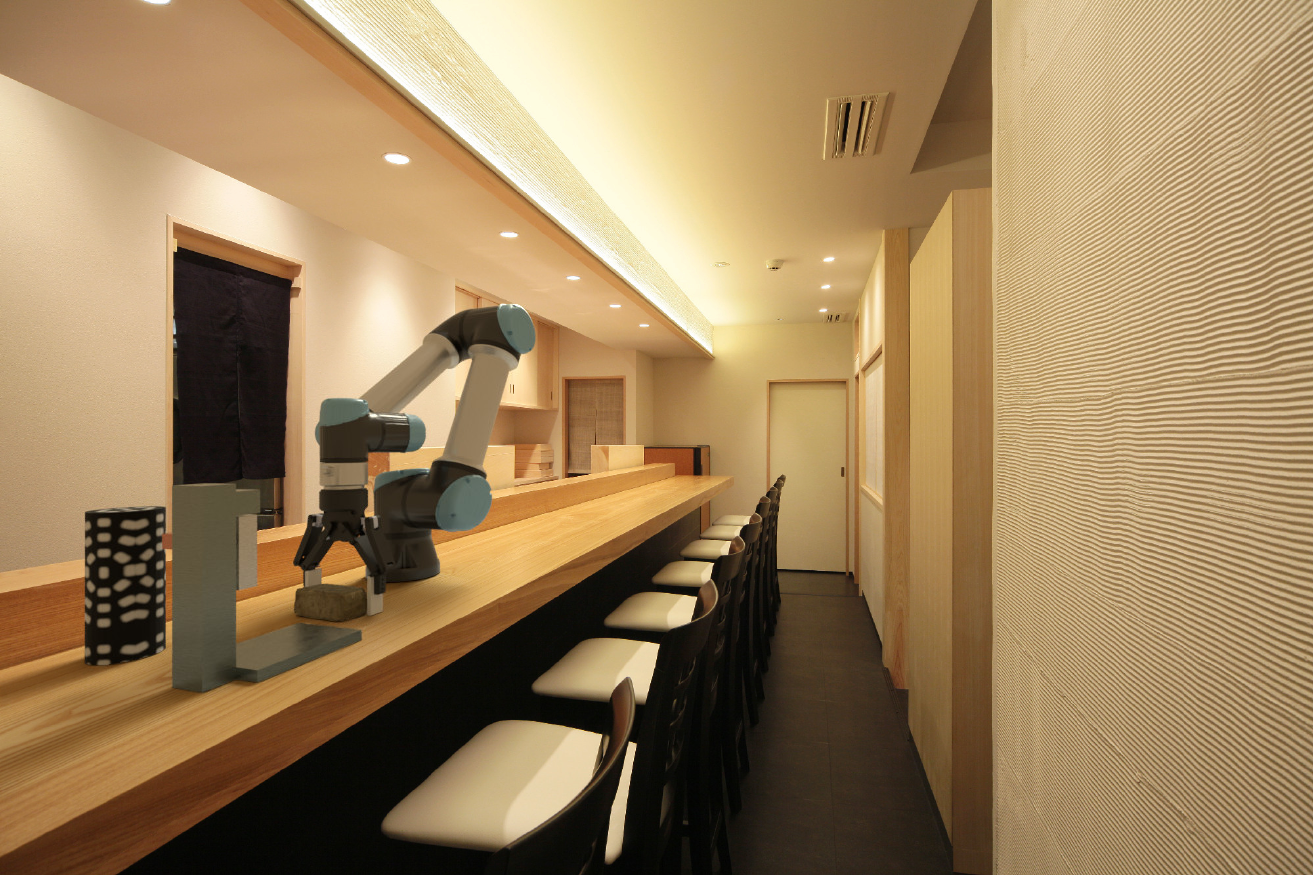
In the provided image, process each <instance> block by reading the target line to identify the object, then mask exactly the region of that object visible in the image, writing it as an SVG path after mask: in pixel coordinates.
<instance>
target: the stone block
mask: <svg viewBox="0 0 1313 875" xmlns="http://www.w3.org/2000/svg"><path fill="white" fill-rule="evenodd" d="M294 598H295V599H294V605H293V612H294V614H295V615H297V616H299V617H304V618H306V619H315V620H322V621H329V622H331V621H332V622H343V621H344V622H345V621H348V620H352V619H355V618H359V617H361V616H363V615H367V590H365V589H364V588H363V587H360V586H359V587H358V586H354V585H353V586H352V585H343V584H336V583H335V584H333V583H322V584H318V585H314V586H309V587H304V586H303V587H300V588H297V589H296V590H295V595H294Z"/></svg>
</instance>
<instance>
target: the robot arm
mask: <svg viewBox="0 0 1313 875" xmlns="http://www.w3.org/2000/svg"><path fill="white" fill-rule="evenodd" d="M536 337H537V336H536V329H535V325H534V322H533V320H532V318H531V316H530V314H529V313H528V312H527V311H526V309H525V308H523V307H522V306H521V305H519V304H515V303H509V304H508V303H507V304H506V303H500V304H499V305H495V306H485V307H477V308H467V309H464V310H462V311H459V312H457V313H455V314H453V315H451V316H450V317H449V318H447V319H446V320H444V321H442V322H441V323H440V324H439V325H437V326H436V327H434V329H432V330H430V332H429V333H428V334H426V335H425V336H424V338H423V339H422V345H420V346H419V347H418V348H417V349H416V350H414V351H413V352H412V353H411V354H410V355H409V356H407V357H406V358H405V359H404V360H402V361H401V362H400V363H399V364H398V365H397V366H396V367H394V368H393V369H392V370H391V371H389V373H387V374H386V375H385V376H384V377H382V378H381V379H379V381H378V382H376V383H375V384H374V385H373V386H372V387H371V388H369V389H368V390H367V391H366V392H364V393H363V394H362V395H361V396H360V397H358V398H354V397H353V398H351V397H333V398H332V397H331V398H326V399H324V400H322V402H321V403H320V407H319V408H320V409H319V419H318V420H319V421H318V423H317V424H316V426H315V427H314V428H315V429H314V438H315V441H316V442H317V444H318V446H319V485H320V486H321V487H323V488H321V489H320V491H319V492H318V495H319V496H318V500H319V501H318V508H319V510H320V511H321V512H322V513H321V512H320V513H313V514H309V515H308V516H307V522H306V528H305V531H304V532H303V535H302V539H301V541H300V543H299V546H298V548H297V551H296V554H295V556H294V559H293V560H292V565H293V566H294V567H300V569H301V570H302V575H303V577H302V586H303V587H309V586H314V585H318V584H323V583H322V582H323V580H322V579H323V578H322V575H323V574H322V572H323V571H322V568H320V567H321V565H320V563H321V562H322V561H323V560H324V557H325V556H326V555H327V553H328V552H329V550H330V549H331V548H332V547H333V545H334V544H335V542H338V541H339V542H342V543H349V545H350V546H353V548H354V549H355V550H356V552H357V553H358V555H359V556H360V558H361V559H362V561H363V563H364V564H365V572H364V573H365V574H364V576H365V580H366V583H367V584H366V585H367V586H366V593H367V612H366V615H367V616H373V615H376V614H379V613H381V612H384V594H385V593H386V589H387V588H386V586H387V585H386V584H387V583H396V582H397V583H399V582H409V581H416V580H417V581H418V580H422V579H427V578H430V577H434V576H436V575H438V574H439V573H441V561H440V558H439V557H438V553H437V550H436V547H435V544H434V540H433V537H432V534H433V533H432V530H433V531H445V532H450V533H454V532H467V531H471V530H473V529H474V528H477V527H478V526H479V525H480V524H482V523H483V522H484V520H485V519H486V518H487V516H488V514H489V512H490V510H491V507H492V502H493V494H492V493H491V491H492V487H491V485H490V483H489V481H488V480H487V477H488V472H487V471H486V470H485V468H484V467H483V465H484V462H485V458H486V455H487V450H488V447H489V444H490V440H491V437H492V433H493V430H494V426H495V422H496V419H497V416H498V412H499V409H500V405H501V401H502V398H503V394H504V391H505V387H506V384H507V380H508V377H509V373H510V372H511V371H513V370H515V369H517V368H518V367H519V362H520V359H521V356H522V355H526V354H529V353H530V352H531V351H533V349H534V347H535V344H536V340H537V339H536ZM470 359H471V362H470V366H469V369H468V373H467V375H466V379H465V382H464V385H463V388H462V391H461V395H460V398H459V400H458V404H457V407H456V410H455V413H454V417H453V420H452V424H451V427H450V430H449V432H448V437H447V440H446V443H445V446H444V449H443V452H442V455H440V456H439V457H437V458H435V459H433V460H432V462H431V465H430V468H429V467H417V468H416V467H415V468H408V469H407V468H406V469H405V468H404V469H395V470H391V471H389V470H388V471H384V472H380V473H378V474H377V475H376V476H375V478H374V486H373V491H372V493H373V516H366V514H365V511H366V509H367V508H368V506H369V489H368V488H367V487H366V486H367V485H369V454H371V453H375V454H376V453H378V454H379V453H381V454H384V453H385V454H386V453H387V454H389V453H392V454H393V453H394V454H395V453H401V454H406V453H415V452H417V451H419V450H420V449H421V448H422V446H423V445H424V444H425V441H426V438H427V435H426V434H427V428H426V424H425V422H424V421H423V420H422V418H421V417H419V416H417V415H416V414H409V413H406V412H401V411H402V410H403V409H405V408H406V407H407V406H408V405H409V404H410V403H411V402H412V401H413V400H414V399H415V398H417V397H418V396H419V395H420V394H421V393H422V392H423V391H424V390H425V389H427V388H428V387H429V386H430V385H431V384H432V383H433V382H434V381H435V380H436V379H438V378H439V376H440V375H442V374H443V373H444V372H445V371H446V370H451V369H452V370H453V369H454V368H456V367H457V366H458V365H459V364H460V363H462V362H465V361H466V360H470Z"/></svg>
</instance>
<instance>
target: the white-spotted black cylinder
mask: <svg viewBox="0 0 1313 875" xmlns="http://www.w3.org/2000/svg"><path fill="white" fill-rule="evenodd" d="M163 533H167V507H166V506H163V505H162V506H157V505H155V506H154V505H150V506H149V505H148V506H145V505H144V506H125V507H111V508H101V509H91V510H87V511H85V512H84V663H85V664H86V665H89V666H108V665H109V664H111V665H117V664H118V663H119V664H123V663H122V662H125V663H128V662H129V661H130V662H133V661H132V660H134V661H138V660H141V659H140V658H142V659H146V658H148V656H149V657H152V656H155V655H156V654H159V653H161V652H162V651H164V650H166V647H167V631H166V630H167V573H166V572H167V549H162V534H163ZM154 654H155V655H154ZM145 657H146V658H145Z"/></svg>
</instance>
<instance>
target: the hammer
mask: <svg viewBox="0 0 1313 875" xmlns="http://www.w3.org/2000/svg"><path fill="white" fill-rule="evenodd" d="M162 549H166V550H172V531H171V532H166V533H163V534H162ZM257 586H258V514H247V515H239V516H236V591H242V590H246V589H251V588H254V587H257Z"/></svg>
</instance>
